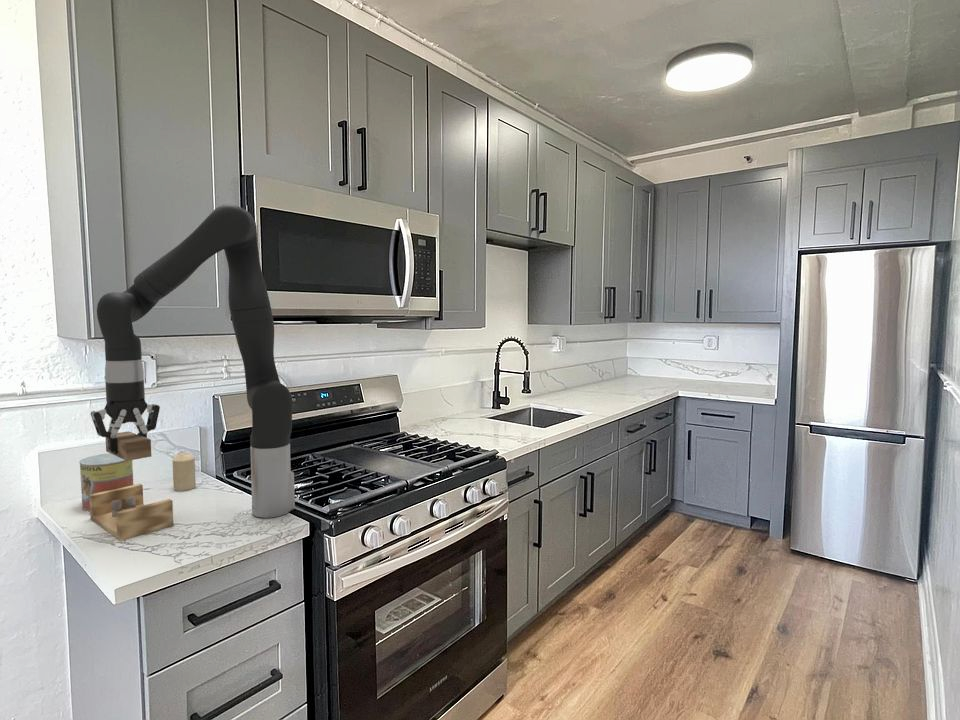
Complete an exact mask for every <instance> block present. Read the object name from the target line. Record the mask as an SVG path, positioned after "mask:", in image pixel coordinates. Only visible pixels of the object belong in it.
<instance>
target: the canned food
mask: <svg viewBox="0 0 960 720" xmlns="http://www.w3.org/2000/svg"><path fill="white" fill-rule="evenodd" d="M78 463H79V468H80V470H79V471H80V489H81V509H82V510H83V511H85V512H89V513H90V501H89V495H90V494H95V493H100V492H104V491H109V490H113V489H118V488H122V487H127V486H132V485H134V469H133V467H134V466H133V460H130V461H126V460H124V459H122V458H119V457H117V456H115V455H113V454H111V453H109V452H108V453H102V454H96V455H92V456H87V457H85V458H82V459H81V460H79V462H78Z"/></svg>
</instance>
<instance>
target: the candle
mask: <svg viewBox="0 0 960 720" xmlns="http://www.w3.org/2000/svg"><path fill="white" fill-rule="evenodd" d="M172 481H173V482H172V483H173V484H172V485H173V490H174V491H176V492H185V491H191V490H193V489H195V488H196V484H197V483H196V458H195V456H194V455H192V454H191V453H190V452H181V453H177V454H176V456H174V457H173V458H172Z"/></svg>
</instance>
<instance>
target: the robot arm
mask: <svg viewBox="0 0 960 720" xmlns="http://www.w3.org/2000/svg"><path fill="white" fill-rule="evenodd" d="M221 251H224V254H225V257H226V262H227V266H228V267H227V268H228V289H227V290H228V308H229V313H230V318H231V323H232V327H233V331H234V335H235V338H236V342H237V346H238V349H239V353H240V355H241V360H242V364H243V369H244V370H243V371H244V378H245V389H246V390H245V391H246V392H245V393H246V401H247V404H248V406H249V408H250V409H251V418H252V420H251V422H252V423H251V424H252V425H251V434H250V437H249V439H250V440H249V442H250V449H249V450H250V475H251V476H250V477H251V481H250V482H251V514H252V515H253V516H254V517H257V518H263V519H264V518H268V519H269V518H276V517H281V516H283V515H286V514H288V513H290V512H291V511H292V510H295V509H296V504H295V503H296V502H295V501H296V500H295V472H294V471H292V470H291V466H292V465H291V436H292V430H293V399H292V395H291V392H290V390H289V389H288V387H287V386H285V385H284V384H283V383H281V380H280V377H279V374H278V369H277V367H276V366H277V365H276V362H275V355H274V354H275V353H274V351H275V350H274V349H275V323H274V321H275V320H274V318H273V317H274V316H273V310H272V306H271V301H270V297H269V293H268V288H267V285H266V282H265V277H264V274H263V271H262V266H261V262H260V252H259V241H258V227H257V223H256V220H255V218H254V217H253V215H252V214H251V213H250V212H249V211H248V210H246V209H245V208H243V207H241V206H239V205H238V204H237V205H236V204H232V203H226V204H225V203H224V204H221V205H219V206H217V207H216V208H214V209H213V210H212V211H211V213H210V214H209V215H208V216H206V218H205V219H204V220H203V221H202V222H201V223H200V224H199V225H198V226H197V228H195V229H194V230H193V231H192V232H191V233H190V234H189V235H188V236H186V238H185V239H184V240H182V241H181V242H180V243H179V244H177V245H176V246H175V247H174V248H172V249H171V250H170V251H168V252H167V253H165V255H162V257H160V258H159V259H157V260H156V261H154V262H153V263H152V264H151V265H149V266H147V267H146V268H145V269H143V271H141V272H140V273H138V275H136V277H135V278H134V280H133V284H132V285H131V286H130V287H129V288H127V289H126V290H124V291H123V292H116V291H115V292H108V293H105V294H103V295H102V296H101V297H100V298H99V300H98V303H97V304H96V305H97V306H96V316H97V322H98V324H99V328H100V332H101V335H102V338H103V340H104V341H103V342H104V353H105V354H104V355H105V356H104V357H105V367H104V381H105V399H106V400H105V401H106V402H105V403H106V405H105V406H104V408H103V409H100V410H97V411H96V410H92V411H90V417H91V419H92V422H93V426H94V428H95V430H96V435H98V436H100V437H102V438H105V437H107V439H108V450H109V451H110V452H111V453H112V454H118V445H117V438H116V436H117V433H119V431H120V429H121V427H122V424H126V423H133V424H134V425H135V426H136V429H137V431H138V433H136V434H137V435H140V436H143V437H145V438H148V433H149V432H150V431H154V430H156V428H157V423H158V418H159V413H160V410H161V406H160V405H158V404H155V403H151V404H149V403H147V402H146V399H145V397H146V396H145V394H146V392H145V391H146V390H145V374H144V373H145V372H144V365H143V360H142V359H143V358H142V356H143V355H142V342H141V339H140V337H139V336H138V335H136V334H135V332H134V327H133V323H134V322H137V321H139V320H140V319H142V318H143V317H145V316H146V315H148V313H149V312H150V311H151V310H152V309H153V308H154V307H155V306H156V305H157V304H158V303H159V301H160V300H162V299H163V298H165V297H166V296H168V295H169V294H170V293H172V292H173V291H174V290H175V289H177V288H178V287H180V286H181V285H182V284H183V283H184V282H185V281H187V280H188V279H189V278H190V277H191V276H192V275H193V274H194V273H195V272H196V271H197V270H198V269H199V267H200V266H201V265H203V264H204V263H205V262H206V261H207V260H209V259H210V258H211V257H213V256H215V255H216V254H218V253H219V252H221ZM145 411H146V412H147V413H148V414H147V415H148V416H147V420H146V421H147V422H146V423H145V420H144V418H143V416H142V415H143V414H144V413H145ZM106 415H108V417H109V418H111V419H110V422H109V424H108V428H107V429H106V427H105V423H104V420H105V418H106Z"/></svg>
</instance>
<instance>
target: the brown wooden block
mask: <svg viewBox="0 0 960 720" xmlns="http://www.w3.org/2000/svg"><path fill="white" fill-rule="evenodd" d="M116 438H117V445H118V454H113V455H115V456H117V457H119V458H122V459H124V460H126V461H130V460H132V461H134V460H140V459H146V458H151V457H152V442H151V441H152V439H150V438H148V437H147V438H145V437H143V436H140V435H137V433H134V432H132V431H122V432H118V433H117V436H116ZM104 439H105V451H106V452H107V453H108V454H109V453H111V452H110V451H109V450H108V439H107V437H104ZM111 454H112V453H111Z"/></svg>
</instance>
